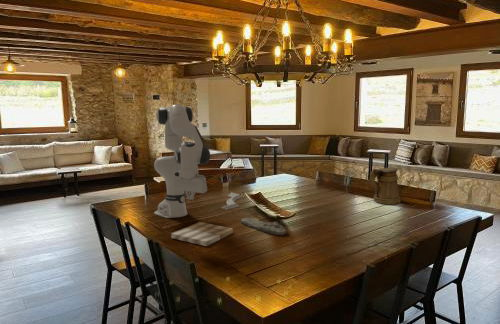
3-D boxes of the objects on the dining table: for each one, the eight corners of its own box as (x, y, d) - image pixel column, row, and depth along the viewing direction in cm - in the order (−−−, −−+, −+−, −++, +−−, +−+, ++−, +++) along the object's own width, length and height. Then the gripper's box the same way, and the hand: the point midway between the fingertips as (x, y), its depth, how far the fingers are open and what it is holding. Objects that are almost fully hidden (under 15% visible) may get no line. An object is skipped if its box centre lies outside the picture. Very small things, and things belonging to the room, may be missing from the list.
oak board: (186, 231, 221) (186, 227, 220) (199, 225, 231) (199, 221, 230) (220, 239, 208) (220, 234, 208) (232, 232, 218) (232, 228, 218)
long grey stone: (249, 222, 242) (237, 226, 235) (248, 214, 241) (236, 218, 235) (291, 233, 216) (279, 238, 210) (290, 224, 216) (278, 229, 209)
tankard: (405, 204, 276) (407, 169, 272) (376, 206, 270) (378, 171, 266) (390, 197, 293) (392, 165, 289) (362, 200, 287) (364, 167, 283)
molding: (228, 195, 307) (228, 192, 306) (243, 195, 306) (243, 192, 305) (220, 210, 265) (220, 206, 264) (238, 210, 264) (238, 206, 264)
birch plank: (171, 237, 210) (171, 233, 210) (185, 231, 220) (185, 227, 220) (206, 246, 198) (206, 241, 197) (219, 239, 208) (219, 235, 207)
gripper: (209, 174, 198) (210, 200, 200) (179, 170, 209) (180, 195, 211) (201, 176, 193) (202, 203, 195) (171, 172, 203) (172, 198, 205)
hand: (190, 199), depth 203 cm, fingers closed
